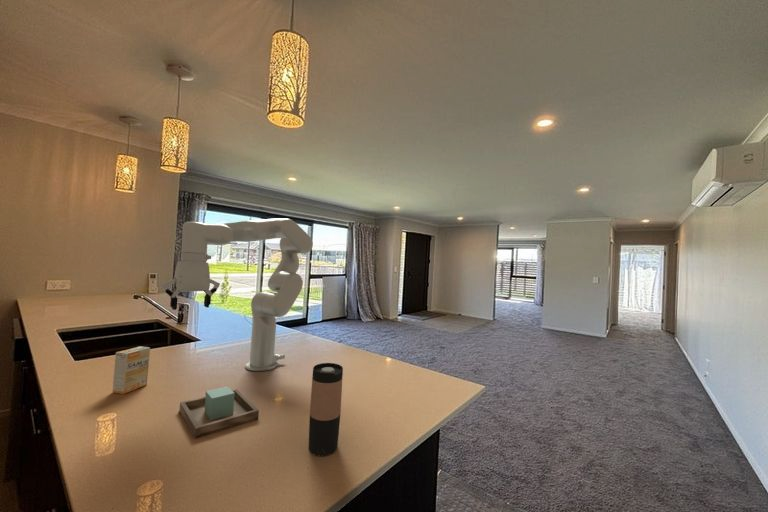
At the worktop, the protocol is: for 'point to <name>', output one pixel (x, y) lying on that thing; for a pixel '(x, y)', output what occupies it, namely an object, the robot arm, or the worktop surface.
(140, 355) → the supplement box
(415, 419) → the worktop surface
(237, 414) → the walnut tray
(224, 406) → the teal cube
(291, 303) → the robot arm
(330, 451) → the travel mug
